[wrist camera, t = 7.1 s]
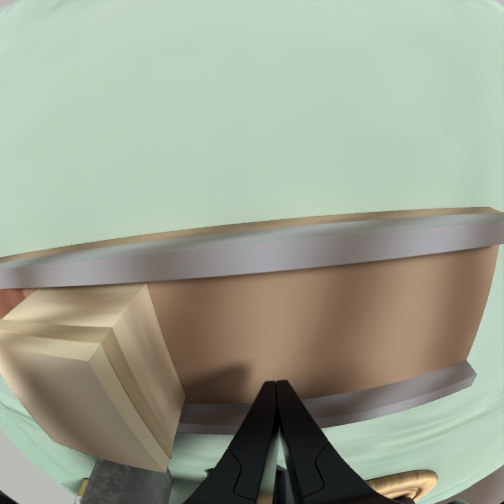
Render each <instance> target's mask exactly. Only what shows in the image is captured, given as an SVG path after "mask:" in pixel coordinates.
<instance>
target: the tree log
mask: <svg viewBox="0 0 504 504" xmlns="http://www.w3.org/2000/svg"><path fill="white" fill-rule="evenodd" d="M88 481H89V479H85V480H83V482H82V484H81V487H80V489H79V492H78V495H77V497H76V499H75V502H74V504H80V501H81V499H82V496H83V493H84V491H85V488H86V486H87V483H88Z"/></svg>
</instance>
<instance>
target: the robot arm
mask: <svg viewBox="0 0 504 504" xmlns="http://www.w3.org/2000/svg"><path fill="white" fill-rule="evenodd" d="M279 429H280V437H281V442H282V447H283V452H284V456H285V461H286V466H287V470H285V469H283V468H281V467H280V466H278V465H276V464H277V455H278V444H279ZM207 476H208V477H207V478H206V479H205V480H204V481H203V482H202V483H201V485H200V486H199V487H198V488H197V489H196V490H195V491H194V492H193V493H192V495H191V496H190V497H189V498H188V499H187V500H186V501H185V502H184V503H182V504H403V503H401V502H398V501H395V500H393V499H390V498H388V497H386V496H383V495H381V494H380V493H378V492H377V491H375V490H374V489H373V488H372V487H371V486H369V485H368V484H367V483H366V482H365V481H364V480H363V479H362V478H361V477H360V476H359V475H358V474H357V473H356V472H355V471H354V470H353V469H352V468H351V467H350V466H349V465H348V464H347V463H346V462H345V461H344V460H343V459H342V458H341V456H340V455H339V454H338V452H337V451H336V450H335V449H334V447H333V446H332V444H331V443H330V442H329V441H328V439H327V437H326V436H325V434H324V433H323V432H322V430H321V429H320V427H319V426H318V424H317V423H316V421H315V420H314V419H313V417H312V416H311V414H310V413H309V411H308V410H307V408H306V407H305V405H304V404H303V402H302V401H301V399H300V398H299V396H298V395H297V393H296V392H295V390H294V389H293V387H292V386H291V384H290V383H289V381H288V380H287V379H283V380H277V381H274V380H272V381H265V382H264V383H263V385H262V387H261V389H260V391H259V392H258V394H257V396H256V398H255V400H254V402H253V404H252V405H251V407H250V409H249V411H248V413H247V415H246V416H245V418H244V420H243V422H242V424H241V425H240V427H239V429H238V431H237V432H236V434H235V436H234V438H233V439H232V441H231V443H230V444H229V446H228V449H226V451H225V453H224V454H223V456H222V458H221V459H220V461H219V462H218V464H217V465H216V466H215V468H214V469H213V470H209V471H207ZM0 504H19V503H17V502H16V501H14V500H13V499H11V498H10V497H9V496H7V495H6V494H5V493H3V492H2V491H1V490H0ZM447 504H469V503H467V502H465V501H463V500H461V499H457V500H454V501H452V502H449V503H447ZM500 504H504V501H503V502H501V503H500Z"/></svg>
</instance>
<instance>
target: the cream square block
mask: <svg viewBox="0 0 504 504" xmlns="http://www.w3.org/2000/svg"><path fill="white" fill-rule="evenodd" d="M0 374H1V375H2V377H3V378H4V380H5V381H6V383H7V384H8V386H9V387H10V389H11V390H12V391H13V393H14V394H15V396H16V397H17V398H18V400H19V401H20V402H21V404H22V405H23V406H24V408H25V409H26V410H27V411H28V413H29V414H30V415H31V416H32V418H33V419H34V420H35V421H36V422H37V424H38V425H39V426H40V427H41V428H42V429H43V431H44V432H45V433H46V434H47V435H48V436H49V437H50V438H51V439H52V440H53V441H54V442H56V443H59V444H61V445H64V446H66V447H69V448H71V449H74V450H77V451H80V452H83V453H86V454H89V455H92V456H95V457H98V458H102V459H105V460H109V461H112V462H116V463H120V464H124V465H128V466H133V467H137V468H142V469H147V470H152V471H158V472H164V473H166V470H167V466H168V462H169V459H171V456H172V452H173V448H174V445H173V442H174V438H175V434H176V431H177V427H178V423H179V419H180V416H181V412H182V408H183V404H184V401H185V397H186V396H185V393H184V391H183V388H182V386H181V384H180V381H179V378H178V376H177V373H176V371H175V368H174V366H173V363H172V360H171V358H170V355H169V352H168V349H167V346H166V344H165V341H164V338H163V335H162V332H161V329H160V326H159V323H158V320H157V317H156V314H155V310H154V307H153V304H152V300H151V297H150V294H149V290H148V287H147V283H132V284H116V285H98V286H78V287H57V288H38V289H37V290H36V291H35V292H33V293H32V294H31V295H30V296H28V297H27V298H26V299H25V300H23V301H22V302H21V303H20V304H19V305H17V306H16V307H15V308H14V309H13V310H12V311H10V312H9V313H8V314H7V315H6V316H5V317H4V318H2V319H0Z"/></svg>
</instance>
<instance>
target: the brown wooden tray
mask: <svg viewBox="0 0 504 504" xmlns="http://www.w3.org/2000/svg"><path fill="white" fill-rule="evenodd" d="M499 244H504V213H503V212H500V211H498V210H495V209H493V208H490V207H470V208H442V209H421V210H402V211H385V212H369V213H355V214H341V215H328V216H316V217H304V218H292V219H281V220H271V221H261V222H251V223H241V224H231V225H222V226H213V227H204V228H196V229H187V230H179V231H171V232H163V233H155V234H147V235H140V236H132V237H125V238H118V239H111V240H104V241H97V242H90V243H84V244H77V245H71V246H65V247H58V248H52V249H46V250H40V251H34V252H29V253H23V254H17V255H12V256H6V257H1V258H0V319H2V318H4V317H5V316H6V315H7V314H8V313H9V312H10V311H12V310H13V309H14V308H15V307H16V306H17V305H19V304H20V303H21V302H22V301H23V300H25V299H26V298H27V297H28V296H30V295H31V294H32V293H33V292H35V291H36V290H37V289H38V288H57V287H78V286H98V285H116V284H132V283H147V287H148V290H149V294H150V297H151V300H152V304H153V307H154V310H155V314H156V317H157V320H158V323H159V326H160V329H161V332H162V335H163V338H164V341H165V344H166V346H167V349H168V352H169V355H170V358H171V360H172V363H173V366H174V368H175V371H176V373H177V376H178V378H179V381H180V384H181V386H182V388H183V391H184V393H185V396H186V397H185V401H184V404H183V408H182V412H181V416H180V419H179V423H178V427H177V431H176V432H182V433H196V434H223V435H235V434H236V432H237V431H238V429H239V427H240V425H241V424H242V422H243V420H244V418H245V416H246V415H247V413H248V411H249V409H250V407H251V405H252V404H253V402H254V400H255V398H256V396H257V394H258V392H259V391H260V389H261V387H262V385H263V383H264V382H265V381H272V380H274V381H277V380H283V379H287V380H288V381H289V383H290V384H291V386H292V387H293V389H294V390H295V392H296V393H297V395H298V396H299V398H300V399H301V401H302V402H303V404H304V405H305V407H306V408H307V410H308V411H309V413H310V414H311V416H312V417H313V419H314V420H315V421H316V423H317V424H318V426H319V427H320V428H326V427H333V426H339V425H344V424H350V423H355V422H360V421H364V420H369V419H373V418H377V417H381V416H385V415H389V414H393V413H396V412H400V411H403V410H407V409H410V408H413V407H417V406H420V405H423V404H426V403H429V402H431V401H434V400H437V399H440V398H442V397H445V396H448V395H450V394H453V393H455V392H458V391H460V390H462V389H465V388H467V387H469V386H471V385H472V383H473V382H474V380H475V378H476V376H477V374H476V373H475V371H474V370H473V368H472V367H471V366H470V364H469V363H468V362H467V357H468V355H469V352H470V350H471V347H472V344H473V342H474V339H475V336H476V334H477V331H478V328H479V325H480V322H481V319H482V316H483V312H484V309H485V306H486V302H487V299H488V295H489V291H490V287H491V283H492V279H493V274H494V270H495V265H496V260H497V255H498V249H499ZM279 433H280V429H279Z"/></svg>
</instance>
